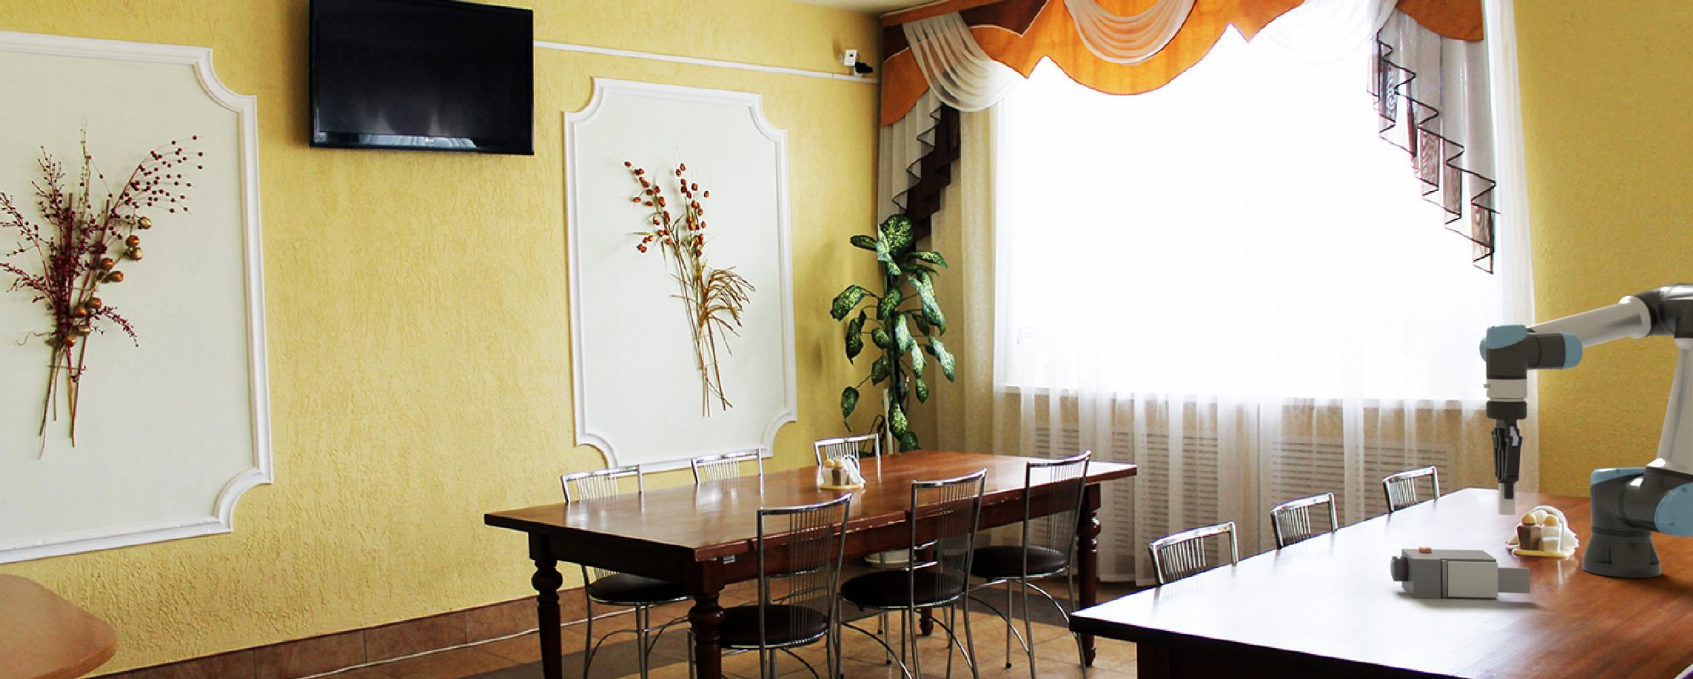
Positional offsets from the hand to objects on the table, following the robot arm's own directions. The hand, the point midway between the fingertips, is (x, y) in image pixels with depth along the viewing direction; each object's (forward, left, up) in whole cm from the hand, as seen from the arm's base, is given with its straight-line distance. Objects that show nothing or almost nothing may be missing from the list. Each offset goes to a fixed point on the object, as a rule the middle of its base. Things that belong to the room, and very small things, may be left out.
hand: (1506, 513), depth 273 cm
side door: (+6, +6, -16) cm, 18 cm away
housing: (+13, +1, -16) cm, 21 cm away
